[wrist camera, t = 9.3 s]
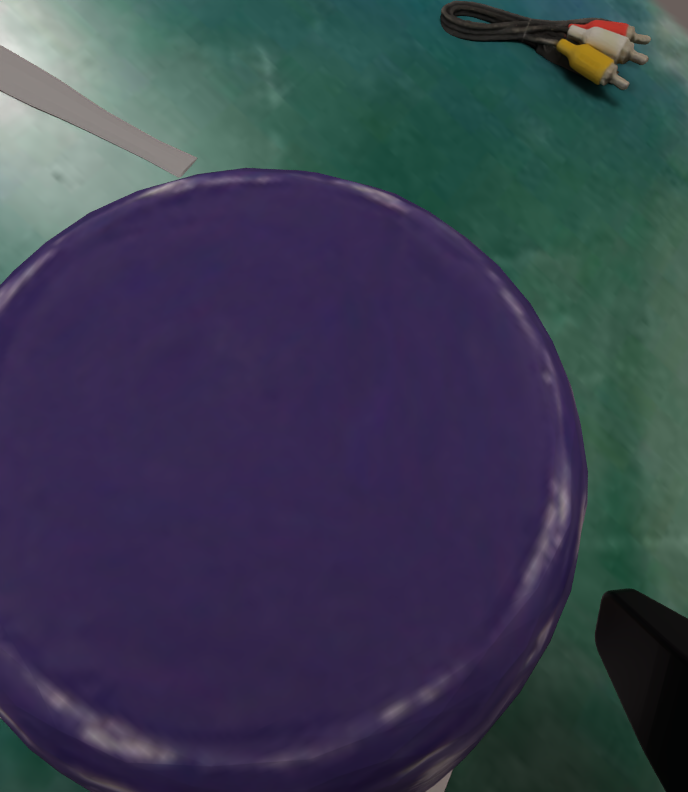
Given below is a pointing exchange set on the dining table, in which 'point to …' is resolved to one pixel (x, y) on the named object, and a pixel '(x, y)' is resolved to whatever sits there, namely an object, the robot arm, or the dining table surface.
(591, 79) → the composite cable
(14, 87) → the butter knife
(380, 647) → the toy lamp
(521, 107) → the dining table surface
